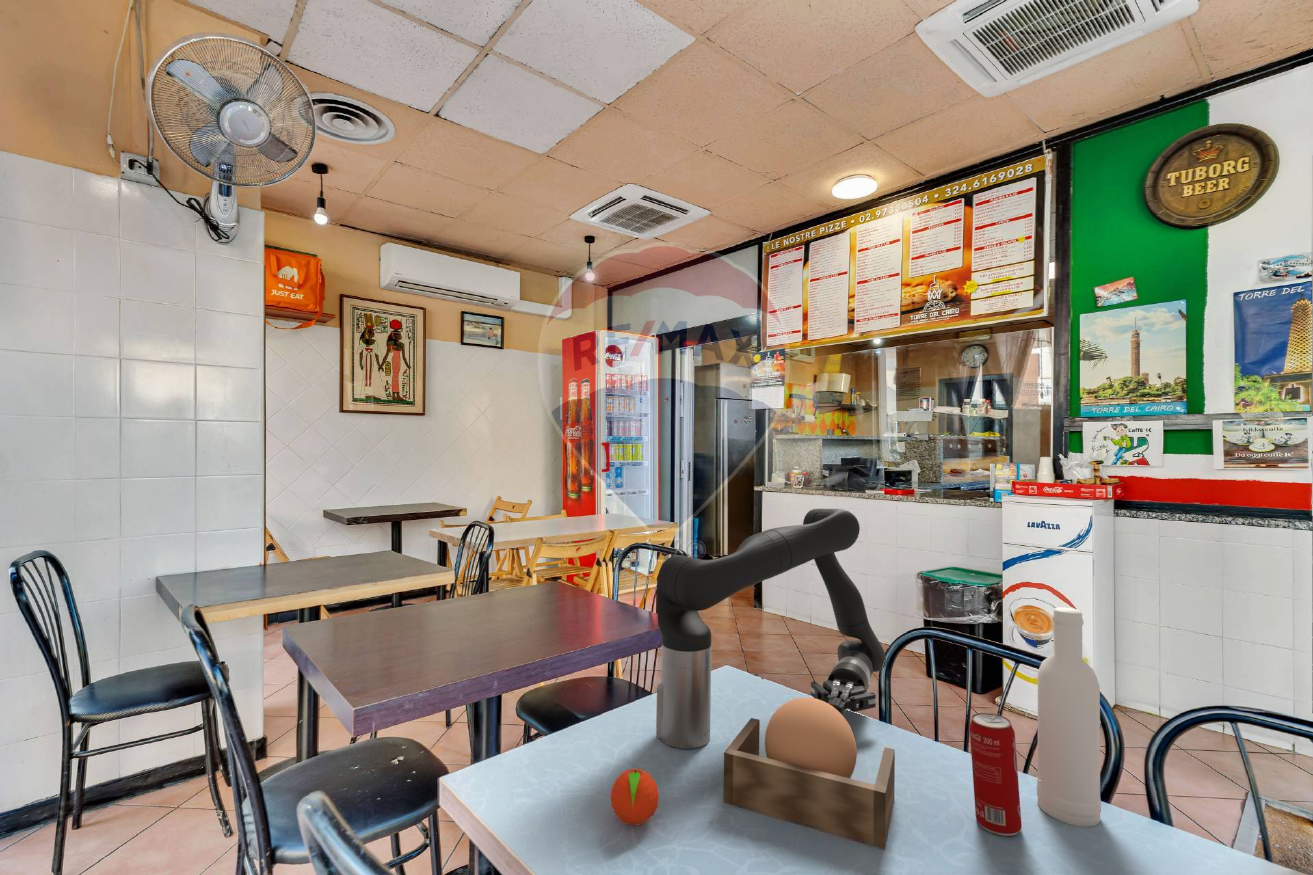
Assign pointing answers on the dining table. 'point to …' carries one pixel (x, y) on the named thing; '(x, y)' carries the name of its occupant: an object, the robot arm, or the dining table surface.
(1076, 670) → the bottle
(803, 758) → the ball
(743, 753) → the pocket
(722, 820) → the dining table surface
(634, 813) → the clementine
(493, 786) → the dining table surface
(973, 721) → the beverage can
